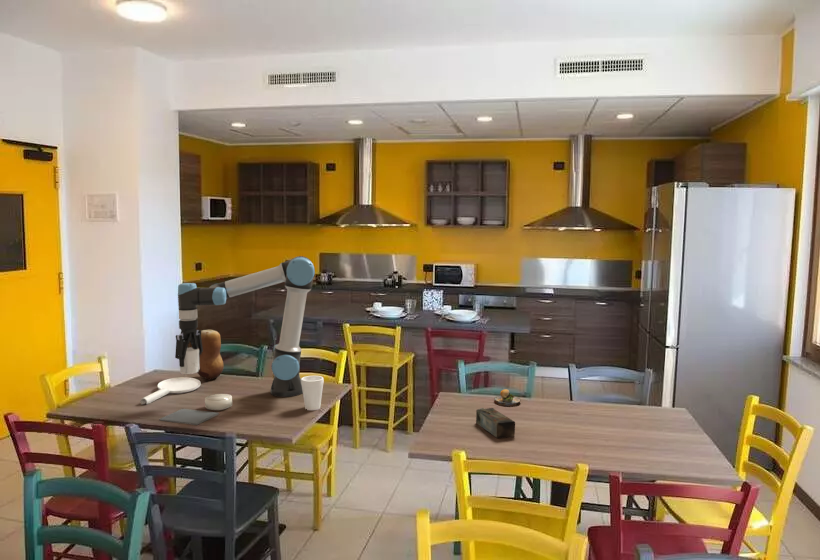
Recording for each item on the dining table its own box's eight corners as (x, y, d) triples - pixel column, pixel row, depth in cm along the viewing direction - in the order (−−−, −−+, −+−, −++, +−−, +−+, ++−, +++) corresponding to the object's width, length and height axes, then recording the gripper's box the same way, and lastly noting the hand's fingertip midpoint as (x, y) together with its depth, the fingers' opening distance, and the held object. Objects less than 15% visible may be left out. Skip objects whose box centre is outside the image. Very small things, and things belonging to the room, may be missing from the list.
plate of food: (520, 407, 257) (520, 390, 256) (493, 406, 259) (493, 389, 258) (521, 399, 268) (521, 383, 268) (494, 398, 271) (495, 382, 270)
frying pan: (162, 411, 257) (162, 401, 256) (125, 405, 261) (124, 395, 261) (208, 385, 291) (208, 376, 290) (174, 380, 295) (174, 372, 294)
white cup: (193, 374, 252) (192, 351, 251) (176, 374, 253) (175, 350, 252) (203, 370, 259) (202, 347, 258) (187, 369, 261) (186, 347, 260)
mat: (218, 414, 246) (218, 412, 246) (197, 425, 233) (197, 423, 233) (182, 410, 252) (182, 408, 252) (159, 420, 239) (159, 418, 239)
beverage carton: (493, 421, 239) (493, 405, 238) (516, 437, 221) (516, 420, 220) (475, 423, 236) (475, 407, 236) (497, 439, 219) (497, 422, 218)
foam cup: (328, 407, 255) (327, 378, 254) (310, 413, 248) (310, 382, 247) (314, 403, 261) (314, 374, 260) (297, 408, 255) (296, 378, 253)
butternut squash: (228, 375, 309) (227, 328, 306) (217, 382, 295) (215, 332, 293) (202, 374, 310) (201, 327, 308) (190, 381, 297) (189, 332, 295)
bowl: (237, 405, 258) (237, 394, 258) (222, 413, 248) (221, 401, 247) (215, 403, 261) (215, 392, 261) (199, 410, 251) (199, 399, 251)
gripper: (196, 315, 265) (198, 365, 267) (164, 322, 246) (166, 376, 248) (210, 316, 263) (212, 366, 265) (179, 323, 243) (181, 378, 246)
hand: (190, 371), depth 256 cm, fingers closed on white cup, 8 cm apart
